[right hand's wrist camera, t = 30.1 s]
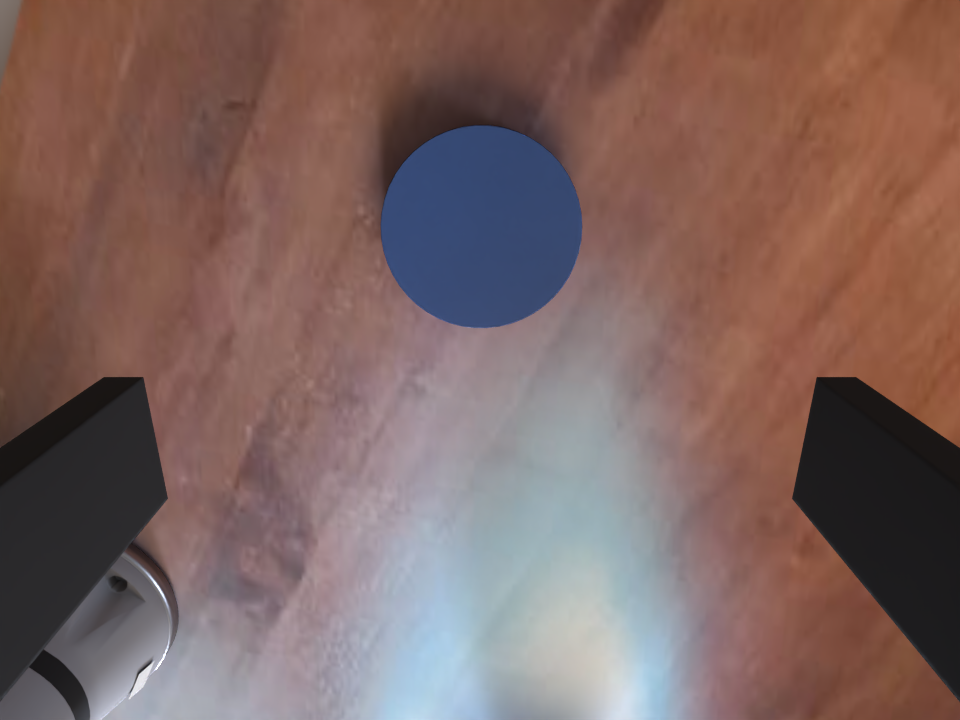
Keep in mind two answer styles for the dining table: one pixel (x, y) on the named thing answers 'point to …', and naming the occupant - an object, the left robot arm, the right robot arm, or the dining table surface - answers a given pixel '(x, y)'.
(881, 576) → the right robot arm
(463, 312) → the lid
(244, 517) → the dining table surface
